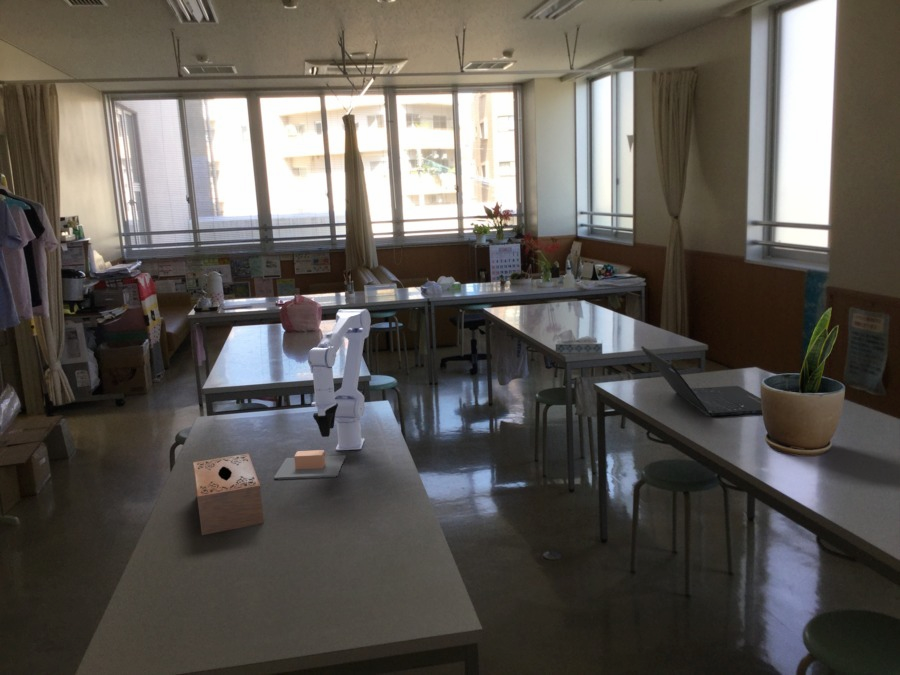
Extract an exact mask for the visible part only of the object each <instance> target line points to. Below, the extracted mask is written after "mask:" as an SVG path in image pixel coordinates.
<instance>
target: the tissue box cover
mask: <svg viewBox="0 0 900 675" xmlns="http://www.w3.org/2000/svg"><path fill="white" fill-rule="evenodd" d="M192 463H193V473H194V482H195V490H196V491H195V492H196V498H197V507H198V514H199V522H200V530H201V536H205V535H210V534H211V535H212V534H216V533H220V532H225V531H230V530H234V529H235V530H236V529H241V528H245V527H251V526H256V525H261V524H265V522H264V521H265V520H264V512H263V511H264V510H263V499H262V491H261V483H260V481H259V479H258V476H257V473H256V470H255V467H254V464H253V462H252V460H251V456H250V453H243V454H242V453H241V454H235V455H229V456H224V457H218V458H217V457H216V458H212V459H205V460H200V461H193V462H192Z"/></svg>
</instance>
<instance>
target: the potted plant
mask: <svg viewBox="0 0 900 675" xmlns="http://www.w3.org/2000/svg"><path fill="white" fill-rule="evenodd" d="M832 308H833V307H828V308H827V310H826V311H824V313H823V314H822V316H821V317H820V319H819V321H817V324H816V326H815V328H814V330H813V333H812V335H811V338H810V341H809V344H808V346H807V351H806V355H805V358H804V360H803V363H802V367H801V370H800V373H789V372H788V373H787V372H785V373H779V374H778V373H777V374H772V375H769V376H766V377H764V378H763V379H761V380H760V398H761V406H762V413H761V414H762V420H763V424H764V428H765V432H766V434H765V435H764V440H765V443H766V444H767V445H768V446H769V447H770V448H772V449H774V451H778V452H780V453H783V454H787V455H792V456H793V455H794V456H802V457H803V456H805V457H806V456H807V457H809V456H817V455H822V454H824V453H826V452H827V451H829V450H830V448H831V447H832V444H833V443H832V441H831V440H832V439H833V437H834V436H835V433H836V431H837V428H838V426H839V422H840V419H841V415H842V412H843V407H844V400H845V396H846V395H845V394H846V393H845V392H846V386H845V384H843V383H842V382H841V381H838V380H835V379H833V378H829V377H825V376H823V372H824V368H825V365H826V364H825V363H826V359H827V358H828V357H829V355H830V354H831V352H832V349H833V346H834V344H835V342H836V340H837V337H838V333H839V326H840V325H839V324H837V325H835V326H834V327H833V328H832V329H831V331H830V332H829V334H828V328H829V324H830V321H831V316H832Z"/></svg>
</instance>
